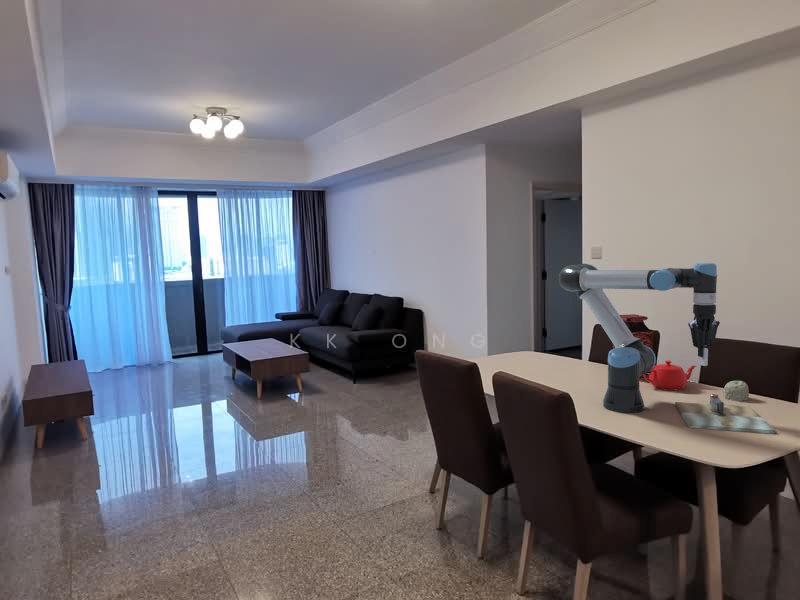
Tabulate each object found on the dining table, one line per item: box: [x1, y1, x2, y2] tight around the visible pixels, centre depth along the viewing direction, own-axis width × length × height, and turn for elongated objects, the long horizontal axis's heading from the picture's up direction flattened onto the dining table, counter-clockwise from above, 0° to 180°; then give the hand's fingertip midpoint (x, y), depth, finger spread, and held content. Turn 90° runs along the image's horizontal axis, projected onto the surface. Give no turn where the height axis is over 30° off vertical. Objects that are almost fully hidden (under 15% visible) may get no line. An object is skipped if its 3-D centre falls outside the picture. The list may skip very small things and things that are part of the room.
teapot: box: [642, 360, 697, 391], centre depth 238 cm, size 25×16×12 cm, turn 93°
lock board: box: [675, 401, 776, 434], centre depth 194 cm, size 26×28×6 cm
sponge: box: [722, 380, 750, 402], centre depth 218 cm, size 9×10×10 cm
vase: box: [612, 313, 654, 378], centre depth 260 cm, size 14×14×30 cm
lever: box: [709, 393, 725, 413], centre depth 200 cm, size 3×11×4 cm, turn 161°
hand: (703, 364), depth 201 cm, fingers closed
